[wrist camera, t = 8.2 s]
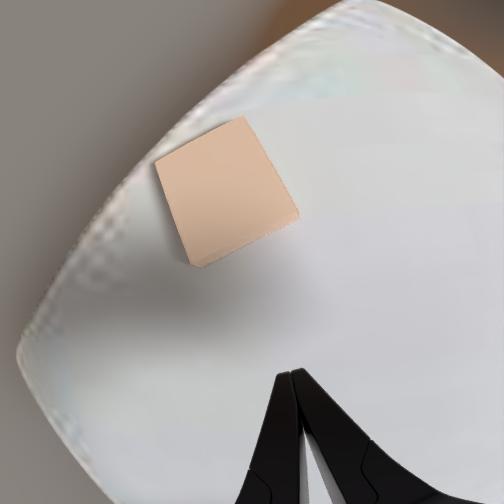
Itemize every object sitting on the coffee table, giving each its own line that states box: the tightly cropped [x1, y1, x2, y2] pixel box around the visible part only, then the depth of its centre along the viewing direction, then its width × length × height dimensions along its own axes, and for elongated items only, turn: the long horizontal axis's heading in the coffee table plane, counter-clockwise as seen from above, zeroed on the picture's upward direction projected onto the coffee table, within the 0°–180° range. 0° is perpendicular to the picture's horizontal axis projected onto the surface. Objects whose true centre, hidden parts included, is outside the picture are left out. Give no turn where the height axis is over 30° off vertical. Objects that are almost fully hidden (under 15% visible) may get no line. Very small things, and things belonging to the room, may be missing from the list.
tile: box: [154, 115, 300, 268], centre depth 19 cm, size 2×7×8 cm
